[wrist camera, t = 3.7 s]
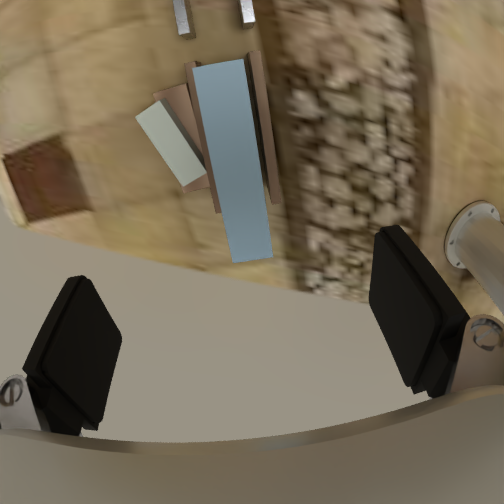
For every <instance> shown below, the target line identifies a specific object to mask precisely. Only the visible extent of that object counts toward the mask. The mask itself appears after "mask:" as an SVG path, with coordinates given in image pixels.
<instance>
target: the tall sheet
mask: <svg viewBox="0 0 504 504" xmlns="http://www.w3.org/2000/svg"><path fill="white" fill-rule="evenodd" d="M192 70H193V75H194V80H195V85H196V90H197V96H198V101H199V106H200V111H201V116H202V121H203V126H204V131H205V135H206V140H207V145H208V150H209V155H210V160H211V164H212V169H213V174H214V179H215V183H216V188H217V193H218V197H219V202H220V207H221V211H222V216H223V220H224V225H225V229H226V234H227V238H228V243H229V247H230V252H231V256H232V261H233V263H237V262H244V261H250V260H257V259H263V258H270V257H273V252H272V245H271V238H270V231H269V223H268V216H267V209H266V202H265V195H264V188H263V182H262V175H261V168H260V161H259V155H258V148H257V142H256V135H255V129H254V122H253V116H252V110H251V103H250V97H249V91H248V85H247V79H246V73H245V67H244V61H243V59H239V60H233V61H226V62H221V63H215V64H210V65H205V66H200V67H195V68H192Z"/></svg>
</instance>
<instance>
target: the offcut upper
mask: <svg viewBox="0 0 504 504" xmlns="http://www.w3.org/2000/svg"><path fill="white" fill-rule="evenodd" d="M135 118H136V119H137V121H138V122H139V124H140V125H141V127H142V128H143V130H144V131H145V133H146V134H147V135H148V137H149V138H150V140H151V141H152V143H153V144H154V146H155V147H156V149H157V150H158V151H159V153H160V154H161V156H162V157H163V159H164V160H165V162H166V163H167V165H168V166H169V167H170V169H171V170H172V172H173V173H174V175H175V176H176V178H177V179H178V180H179V182H180V183H181V185H182V186H183V187H184V186H185V185H187V184H189V183H190V182H192V181H194V180H195V179H197V178H199V177H201V176H202V175H204V174H206V173H207V171H206V167H205V162H204V157H203V155H202V154H201V152H200V151H199V149H198V147H197V146H196V144H195V143H194V141H193V140H192V138H191V137H190V135H189V134H188V132H187V131H186V129H185V128H184V126H183V125H182V123H181V122H180V120H179V118H178V117H177V115H176V114H175V112H174V111H173V109H172V108H171V106H170V105H169V103H168V102H167V100H166V99H165V98H163V99H161V100H159V101H158V102H156V103H155V104H153V105H152V106H150V107H149V108H147V109H146V110H145V111H143V112H142V113H140V114H139V115H137V116H136V117H135Z"/></svg>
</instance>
